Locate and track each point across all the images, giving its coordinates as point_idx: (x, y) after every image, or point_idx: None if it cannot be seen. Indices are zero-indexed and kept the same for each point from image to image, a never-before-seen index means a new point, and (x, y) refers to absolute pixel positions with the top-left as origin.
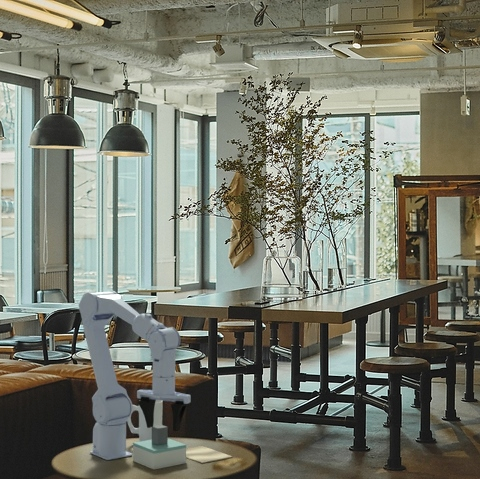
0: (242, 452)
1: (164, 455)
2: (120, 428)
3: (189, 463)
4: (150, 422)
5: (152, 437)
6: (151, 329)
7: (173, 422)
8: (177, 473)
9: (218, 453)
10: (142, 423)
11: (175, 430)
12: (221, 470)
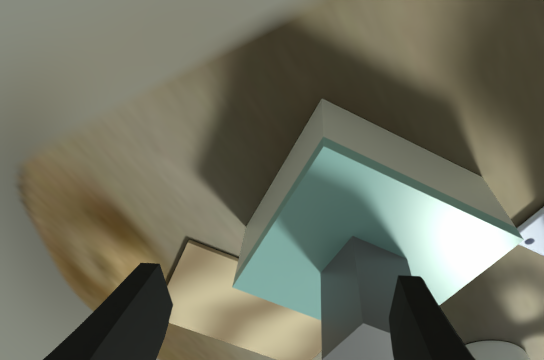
0: (167, 352)
1: (289, 179)
2: None
3: (232, 228)
4: (403, 329)
5: None
6: None
7: (113, 321)
8: (183, 90)
9: (209, 328)
10: None
11: (137, 267)
12: (73, 197)
